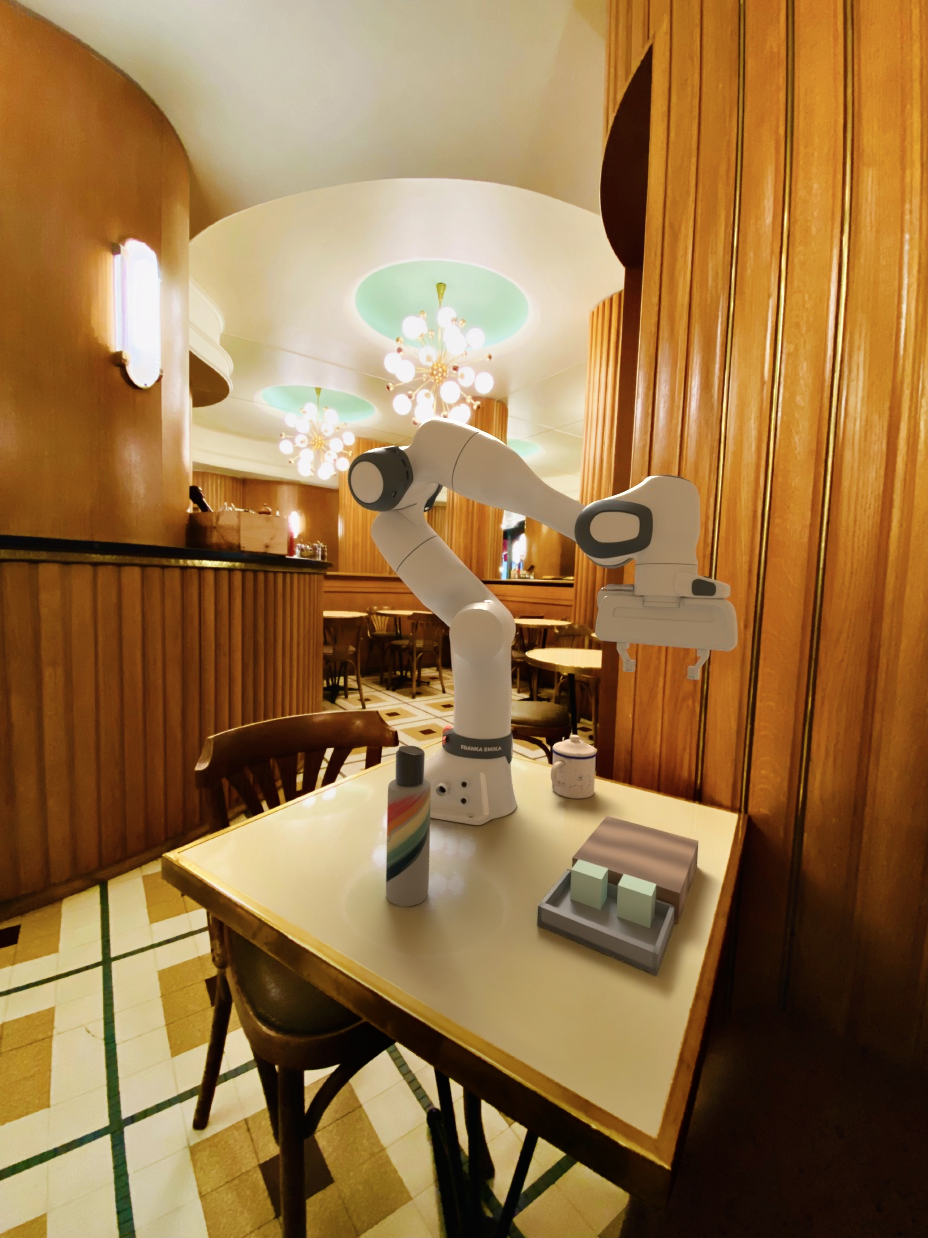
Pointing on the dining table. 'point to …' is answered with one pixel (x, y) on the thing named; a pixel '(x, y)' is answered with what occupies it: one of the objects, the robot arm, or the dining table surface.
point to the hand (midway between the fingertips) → (659, 674)
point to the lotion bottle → (408, 830)
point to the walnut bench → (644, 858)
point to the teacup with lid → (573, 768)
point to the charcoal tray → (607, 926)
